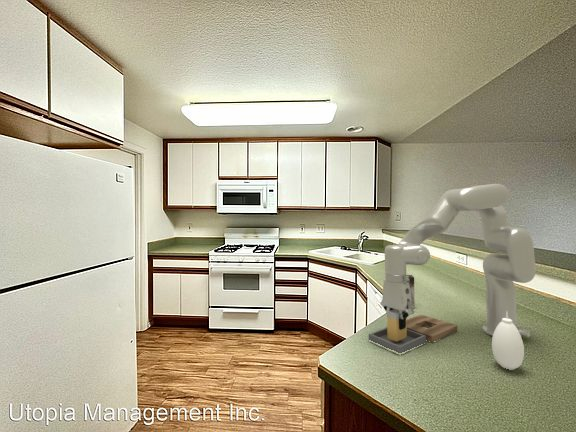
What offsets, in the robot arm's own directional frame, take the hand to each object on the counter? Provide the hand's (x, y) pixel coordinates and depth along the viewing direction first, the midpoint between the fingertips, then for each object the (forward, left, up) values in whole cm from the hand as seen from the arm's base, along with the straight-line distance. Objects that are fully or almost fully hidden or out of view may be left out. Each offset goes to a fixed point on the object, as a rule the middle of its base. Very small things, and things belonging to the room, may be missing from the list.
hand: (396, 326), depth 109 cm
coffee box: (+24, -38, -6) cm, 45 cm away
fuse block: (0, 0, -4) cm, 4 cm away
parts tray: (0, 0, -6) cm, 6 cm away
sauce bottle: (-31, -12, -6) cm, 34 cm away
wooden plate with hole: (0, -19, -6) cm, 20 cm away
